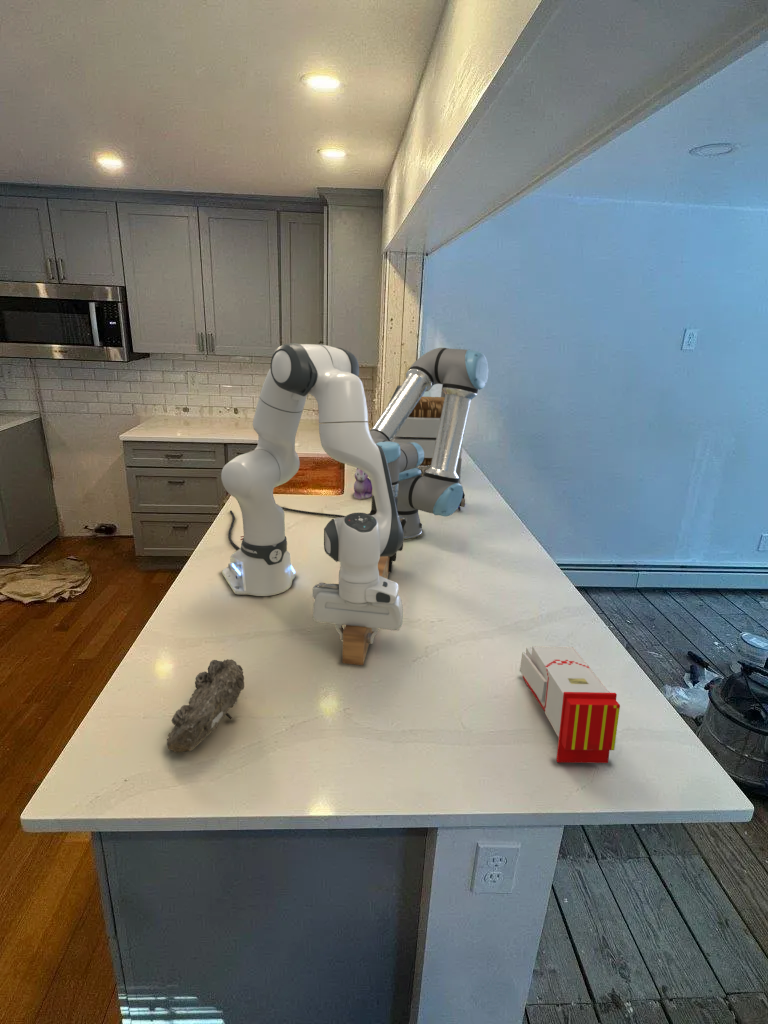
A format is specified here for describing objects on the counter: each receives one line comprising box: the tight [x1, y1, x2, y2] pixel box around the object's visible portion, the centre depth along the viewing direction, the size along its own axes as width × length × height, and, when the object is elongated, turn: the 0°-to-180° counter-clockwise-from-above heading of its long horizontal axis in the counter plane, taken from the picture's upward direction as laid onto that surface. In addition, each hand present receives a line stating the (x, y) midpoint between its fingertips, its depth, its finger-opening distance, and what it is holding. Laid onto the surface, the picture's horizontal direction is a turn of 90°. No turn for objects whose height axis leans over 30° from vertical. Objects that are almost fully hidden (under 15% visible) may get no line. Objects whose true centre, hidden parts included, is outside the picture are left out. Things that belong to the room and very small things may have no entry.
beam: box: [341, 556, 390, 666], centre depth 149 cm, size 53×5×8 cm, turn 173°
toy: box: [519, 645, 621, 764], centre depth 112 cm, size 12×13×30 cm
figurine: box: [353, 468, 373, 500], centre depth 235 cm, size 9×10×15 cm
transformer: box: [386, 384, 464, 484], centre depth 268 cm, size 34×33×41 cm
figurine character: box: [457, 490, 466, 511], centre depth 229 cm, size 7×8×15 cm
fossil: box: [166, 658, 245, 754], centre depth 106 cm, size 22×10×15 cm
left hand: (357, 640), depth 130 cm, fingers closed on beam, 5 cm apart
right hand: (381, 569), depth 171 cm, fingers closed on beam, 5 cm apart
